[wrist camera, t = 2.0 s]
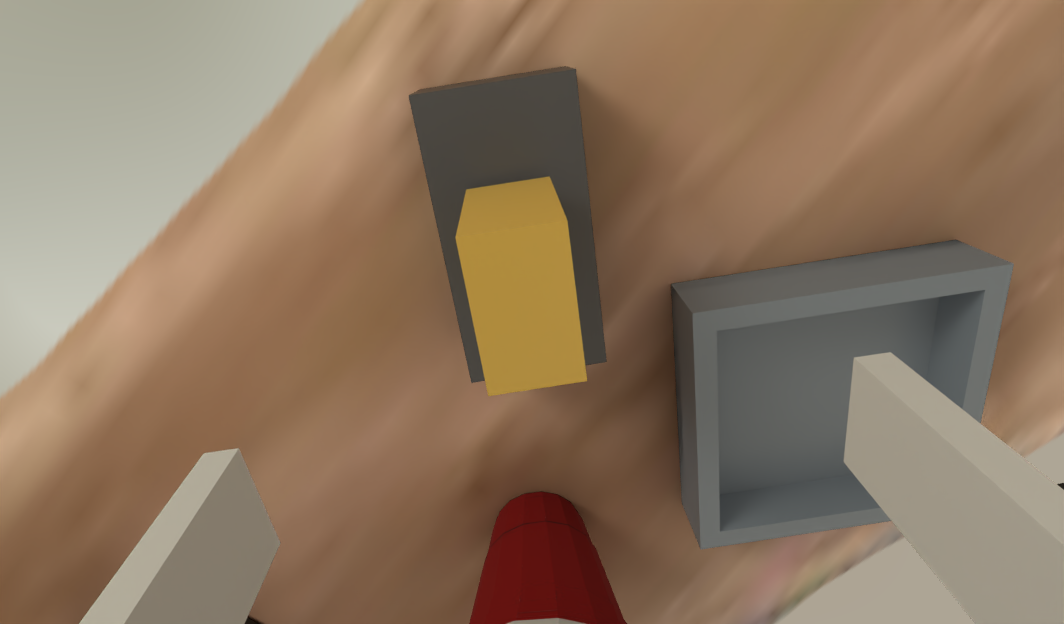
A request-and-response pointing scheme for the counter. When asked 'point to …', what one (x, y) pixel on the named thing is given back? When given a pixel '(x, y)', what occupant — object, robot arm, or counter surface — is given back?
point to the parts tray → (815, 377)
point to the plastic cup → (543, 568)
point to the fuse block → (509, 173)
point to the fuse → (521, 286)
